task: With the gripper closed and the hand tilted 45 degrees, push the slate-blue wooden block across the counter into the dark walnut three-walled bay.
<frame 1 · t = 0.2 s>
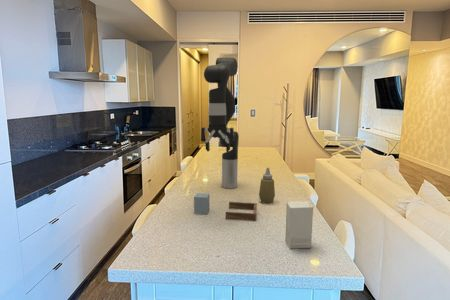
hand: (217, 151, 131), 29 cm above the kitchen island, tool pointing down, fingers open, 8 cm apart
slate block: (201, 211, 140), on the kitchen island
skincare box: (297, 245, 109), on the kitchen island
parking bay: (240, 213, 137), on the kitchen island
squeeze bottle: (266, 202, 153), on the kitchen island
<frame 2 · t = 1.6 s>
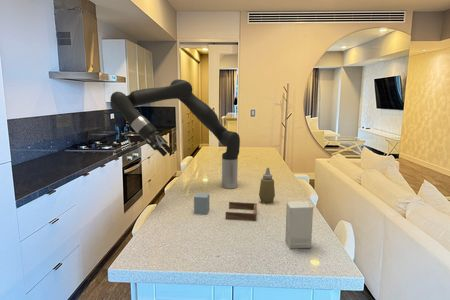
hand: (168, 153, 139), 27 cm above the kitchen island, tool tilted 45°, fingers open, 7 cm apart
nothing on the kitchen island moved.
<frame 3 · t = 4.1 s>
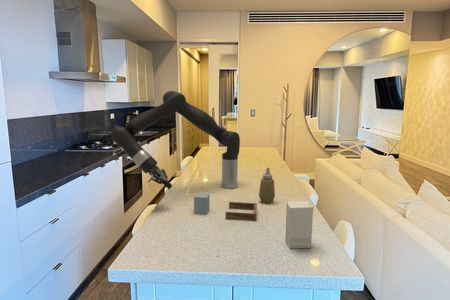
hand: (170, 187, 140), 11 cm above the kitchen island, tool tilted 45°, fingers closed
nothing on the kitchen island moved.
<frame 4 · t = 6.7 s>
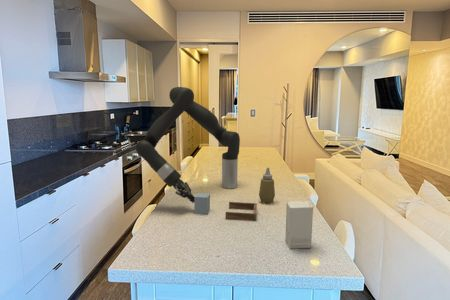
hand: (194, 201, 139), 5 cm above the kitchen island, tool tilted 45°, fingers closed
slate block: (202, 211, 140), on the kitchen island, touching gripper
everything else where it was.
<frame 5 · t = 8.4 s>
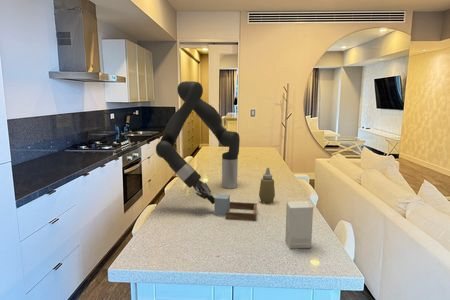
hand: (214, 202, 138), 5 cm above the kitchen island, tool tilted 45°, fingers closed
slate block: (222, 213, 138), on the kitchen island, touching gripper
everything else where it was.
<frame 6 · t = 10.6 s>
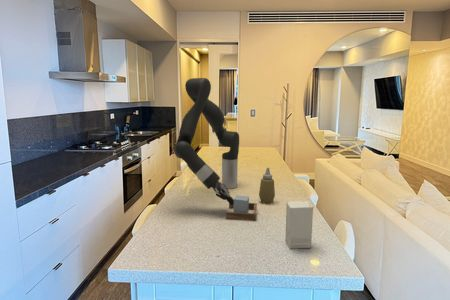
hand: (233, 203, 137), 5 cm above the kitchen island, tool tilted 45°, fingers closed
slate block: (240, 214, 136), on the kitchen island, touching gripper
everything else where it was.
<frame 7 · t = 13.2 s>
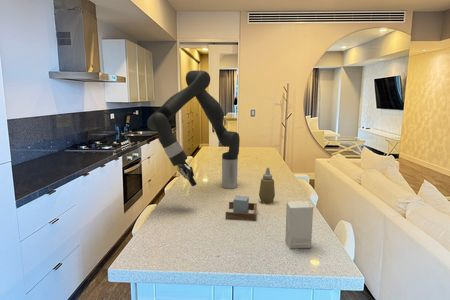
hand: (194, 185, 139), 12 cm above the kitchen island, tool tilted 30°, fingers closed
slate block: (240, 214, 136), on the kitchen island
everything else where it was.
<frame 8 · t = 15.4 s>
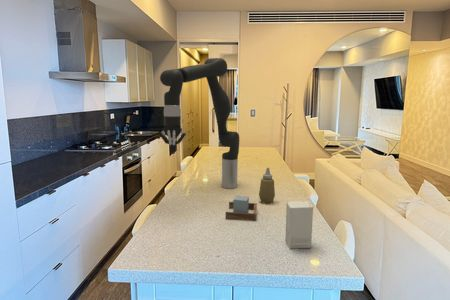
hand: (173, 152, 139), 27 cm above the kitchen island, tool pointing down, fingers closed
nothing on the kitchen island moved.
at the end: slate block inside the target area on the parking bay (1.0 cm from its centre), point 0.0 cm above the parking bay's base; slate block tilted 0° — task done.
